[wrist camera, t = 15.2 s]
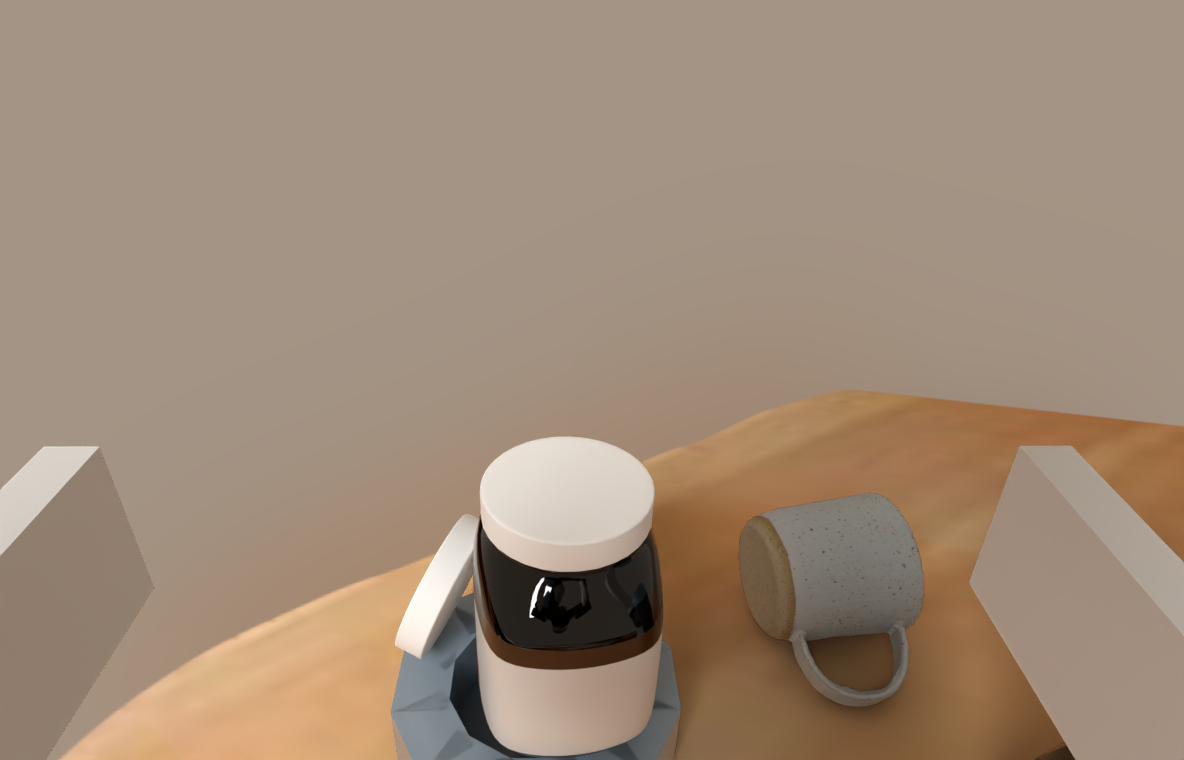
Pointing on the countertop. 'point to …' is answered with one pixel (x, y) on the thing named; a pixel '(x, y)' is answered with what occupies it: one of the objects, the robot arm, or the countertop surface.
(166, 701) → the countertop surface
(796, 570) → the ceramic mug
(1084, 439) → the countertop surface
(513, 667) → the spread jar
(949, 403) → the countertop surface
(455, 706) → the slate bowl
